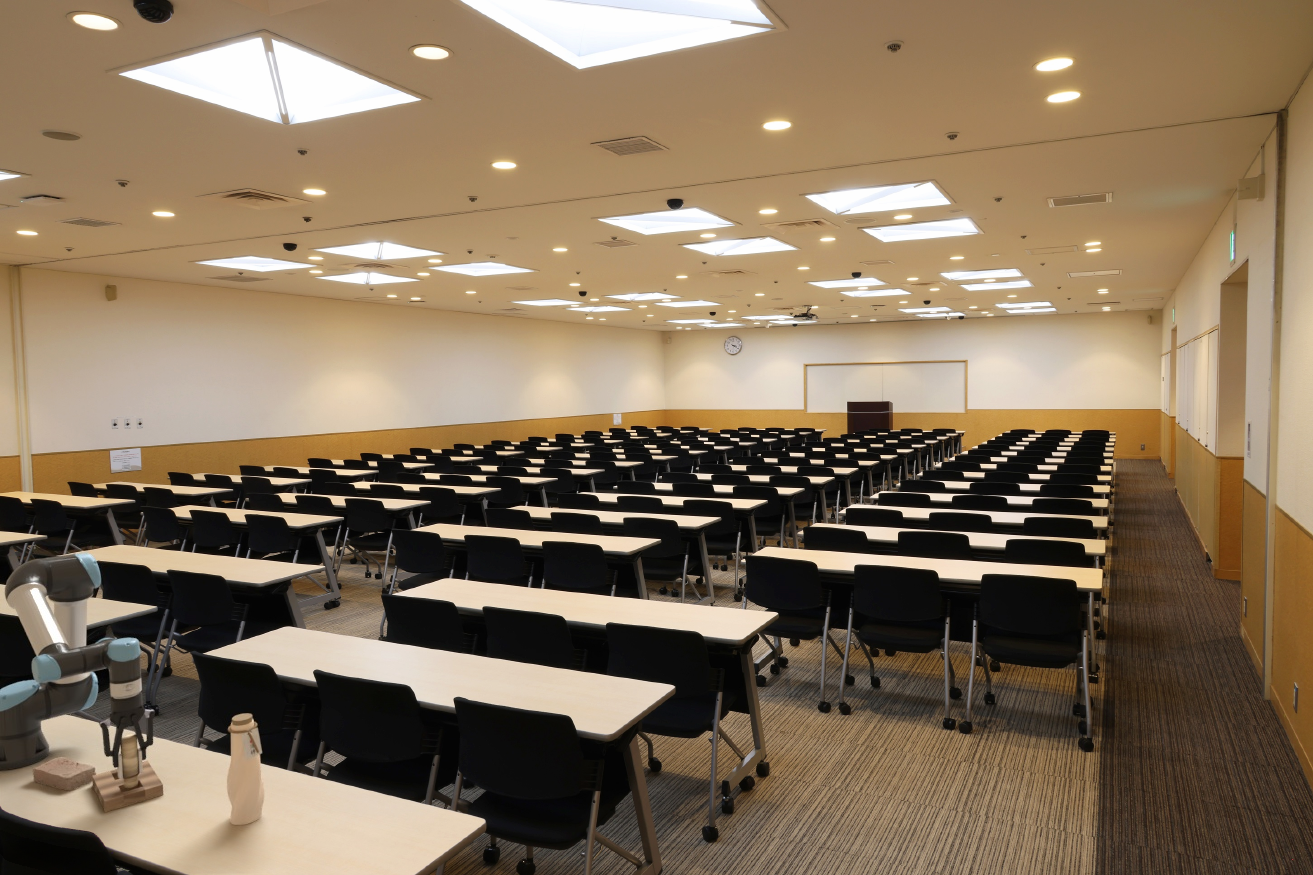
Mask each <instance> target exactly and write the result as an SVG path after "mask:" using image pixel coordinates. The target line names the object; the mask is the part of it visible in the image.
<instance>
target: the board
mask: <svg viewBox="0 0 1313 875" xmlns="http://www.w3.org/2000/svg"><path fill="white" fill-rule="evenodd" d="M142 767H143V773H141V774H140V773H139V774H138V785H136V786H134V787H131V788H124V780H123V779H119V777H118V769H117V768H114V769H112V770H108V771H105V772H101V773H96V775H93V776H92V780H93V781H92V787H93V789H94V791H95V793H96V795H97V798H98V799H99V801H100V804H101V806H102V808H103V810H104V813H106V812H110V811H113V810H117V809H119V808H123V807H126V806H130V805H133V804H137V803H140V802H143V801H147V800H150V799H153V798H154V799H155V798H156V797H159V796H162V795H164V784H163V783H162V781H161V779H160V778H159V776H158V774H157V773H156V772H155V770H154V768H153V766H152V765H151V764H150V762H149V760H146V761H145V760H144V761H142Z"/></svg>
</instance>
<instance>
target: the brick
mask: <svg viewBox="0 0 1313 875" xmlns="http://www.w3.org/2000/svg"><path fill="white" fill-rule="evenodd" d="M32 772H33V773H32V776H33V782H35V783H37V784H42V785H44V786H48V787H52V788H57V789H60V790H65V791H71V792H72V791H74V790H76V789H79V788H80V787H82V786H84V785H87V784H90V783H93V780H92V776H93V775H97V772H96V767H95V766H93V765H90V764H86V763H80V762H77V761H75V760H71V758H70V759H69V758H67V757H65V756H59V757H55V758H53V759H50V760H48V761H46V762H43V763H42V764H40V765H39V766H36V767H33V769H32Z"/></svg>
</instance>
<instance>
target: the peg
mask: <svg viewBox="0 0 1313 875" xmlns="http://www.w3.org/2000/svg"><path fill="white" fill-rule="evenodd" d="M138 748H139V747H138V740H137V735H136V734H134V733H133V734H132V733H131V734H126V735H124V736H123V735H122V739H121V744H120V754H121V756H122V772H123V780H124V788H131V787H134V786H136V785H138V774H139V768H138Z"/></svg>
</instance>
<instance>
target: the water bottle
mask: <svg viewBox="0 0 1313 875" xmlns="http://www.w3.org/2000/svg"><path fill="white" fill-rule="evenodd" d="M230 723H231V724H230V725H229V726H228V728H227V732H228V733H230V763H229V767H228V771H227V778H226V789H227V790H226V791H227V796H228V800H229V802H230V804H231V811H230V819H229V822H230V824H231V825H234V826H243V825H248V824H251V823H254V822H256V821H257V820H259V819H260V818H261V817H262V815H263V814H262V813H263V805H264V801H265V786H264V781H263V780H264V779H263V778H262V766H261V754H263V750H262V744H261V738H260V733H259V728H258V723H257V722H256V721H254V718H253V714H252V713H240V714H236V715H234V716H233V717H232V718H231V722H230Z"/></svg>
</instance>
